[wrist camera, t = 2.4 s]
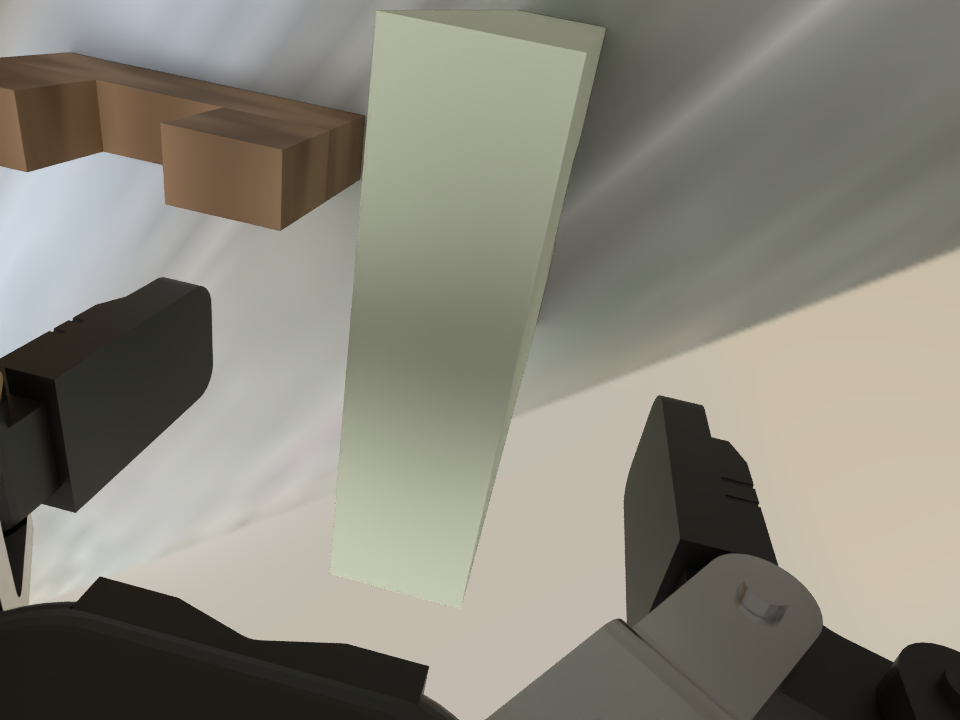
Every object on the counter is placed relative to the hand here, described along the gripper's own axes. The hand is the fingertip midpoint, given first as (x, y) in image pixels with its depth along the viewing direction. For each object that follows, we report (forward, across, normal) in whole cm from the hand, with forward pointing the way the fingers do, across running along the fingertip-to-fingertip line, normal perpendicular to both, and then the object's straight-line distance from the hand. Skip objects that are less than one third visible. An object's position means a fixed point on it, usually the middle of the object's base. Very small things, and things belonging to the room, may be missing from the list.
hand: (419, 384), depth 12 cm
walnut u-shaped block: (+15, +12, 0) cm, 20 cm away
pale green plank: (+15, 0, 0) cm, 15 cm away
